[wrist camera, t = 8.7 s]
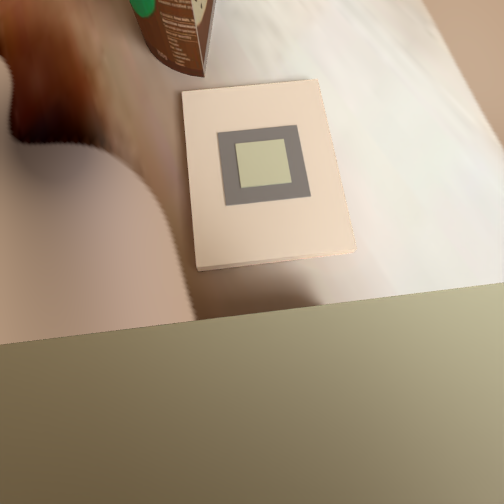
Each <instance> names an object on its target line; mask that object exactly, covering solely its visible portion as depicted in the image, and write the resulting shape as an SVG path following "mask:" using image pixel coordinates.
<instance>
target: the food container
mask: <svg viewBox="0 0 504 504" xmlns="http://www.w3.org/2000/svg"><path fill="white" fill-rule="evenodd" d="M130 3H131V6H132V8H133V11H134V13H135V16H136V18H137V21H138V23H139V26H140V28H141V31H142V33H143V36H144V39H145V41H146V44H147V46H148V47H149V49H150V51H151V52H152V53H153V55H154V56H155V57H156V58H157V59H158V60H159V61H161V62H162V63H163V64H165V65H166V66H168V67H170V68H171V69H173V70H176V71H178V72H181V73H184V74H188V75H191V76H198V77H205V71H206V64H207V57H208V50H209V44H210V37H211V30H212V23H213V17H214V10H215V3H216V0H130Z"/></svg>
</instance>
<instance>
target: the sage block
mask: <svg viewBox="0 0 504 504" xmlns="http://www.w3.org/2000/svg"><path fill="white" fill-rule="evenodd" d="M0 504H504V283H496V284H488V285H480V286H472V287H464V288H456V289H448V290H440V291H432V292H424V293H416V294H407V295H399V296H391V297H383V298H375V299H367V300H359V301H351V302H343V303H335V304H326V305H318V306H310V307H302V308H294V309H286V310H278V311H270V312H262V313H254V314H245V315H237V316H229V317H221V318H213V319H205V320H197V321H189V322H181V323H173V324H165V325H156V326H149V327H140V328H132V329H124V330H116V331H109V332H100V333H92V334H84V335H76V336H67V337H61V338H60V337H59V338H51V339H43V340H36V341H27V342H19V343H11V344H3V345H0Z"/></svg>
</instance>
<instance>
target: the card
mask: <svg viewBox="0 0 504 504" xmlns="http://www.w3.org/2000/svg"><path fill="white" fill-rule="evenodd" d="M182 102H183V114H184V126H185V138H186V150H187V161H188V173H189V185H190V197H191V209H192V221H193V233H194V245H195V257H196V268H197V270H198V271H207V270H215V269H224V268H232V267H240V266H249V265H257V264H265V263H274V262H282V261H291V260H299V259H307V258H316V257H324V256H332V255H341V254H349V253H354V251H355V250H356V249H357V246H356V242H355V238H354V234H353V229H352V225H351V221H350V216H349V212H348V208H347V203H346V199H345V195H344V190H343V186H342V182H341V178H340V173H339V169H338V165H337V160H336V156H335V152H334V147H333V143H332V139H331V134H330V130H329V126H328V122H327V117H326V113H325V109H324V104H323V100H322V96H321V91H320V87H319V83H318V79H311V80H301V81H290V82H279V83H268V84H257V85H247V86H236V87H225V88H214V89H204V90H193V91H182Z"/></svg>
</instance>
